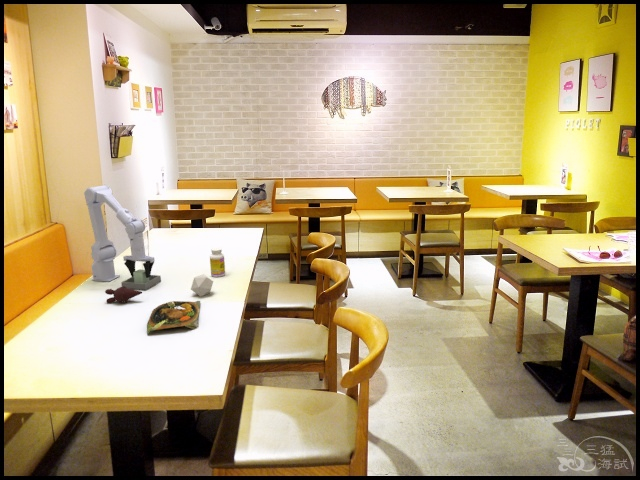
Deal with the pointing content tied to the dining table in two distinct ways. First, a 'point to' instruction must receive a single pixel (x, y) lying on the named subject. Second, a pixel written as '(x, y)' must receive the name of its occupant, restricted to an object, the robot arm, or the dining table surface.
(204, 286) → the die
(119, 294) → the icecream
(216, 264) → the supplement bottle
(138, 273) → the mint block
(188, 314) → the prepared meal
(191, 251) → the dining table surface
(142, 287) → the gray tray
